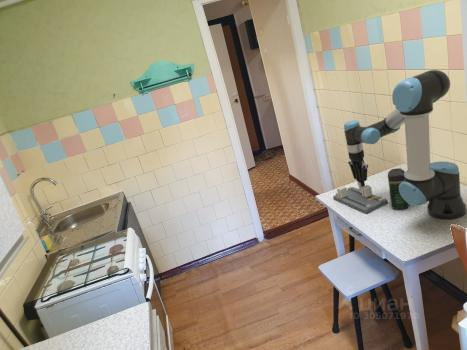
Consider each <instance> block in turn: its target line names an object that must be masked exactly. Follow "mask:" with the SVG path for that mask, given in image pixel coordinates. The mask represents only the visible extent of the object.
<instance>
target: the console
mask: <svg viewBox="0 0 467 350" xmlns="http://www.w3.org/2000/svg"><path fill="white" fill-rule="evenodd" d="M347 194H348V196H345V197H343V198H340V197H338V192H336V193H335V195H333V196H332V198H333V200H334V201H336V202H338V203H340V204H343V205H345V206H347V207H350V208H352V209H354V210H357V211H358V212H360V213H362V214H364V215H368V214H369V213H372V212H373V211H375V210H377V209H380V208H382V207H385V206H387V204H389V203H388V202H389V200H388V199H387V198H383V197H381V196H379V195H375V194H373V193H372V195H371V196H369V197H367V198H366V197H363V196H362V193H360V192H359V188H357V187H354V186H353V187H352V186H348V187H347Z"/></svg>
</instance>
